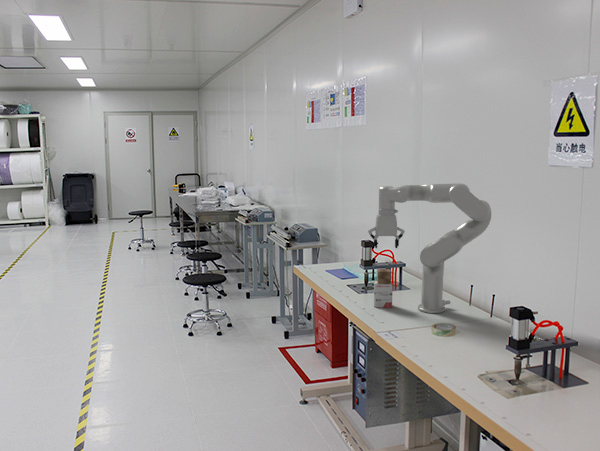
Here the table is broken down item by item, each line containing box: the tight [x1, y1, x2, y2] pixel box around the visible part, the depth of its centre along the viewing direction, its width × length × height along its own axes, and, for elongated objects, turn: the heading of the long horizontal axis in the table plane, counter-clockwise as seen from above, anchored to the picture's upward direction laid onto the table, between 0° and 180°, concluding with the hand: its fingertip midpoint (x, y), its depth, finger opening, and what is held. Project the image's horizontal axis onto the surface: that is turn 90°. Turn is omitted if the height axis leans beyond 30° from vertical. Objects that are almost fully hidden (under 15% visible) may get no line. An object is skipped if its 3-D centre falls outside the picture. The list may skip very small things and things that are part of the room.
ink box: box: [373, 281, 393, 309], centre depth 258 cm, size 9×5×12 cm, turn 84°
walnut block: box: [376, 268, 392, 284], centre depth 256 cm, size 6×6×6 cm
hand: (386, 247), depth 258 cm, fingers open, 9 cm apart
